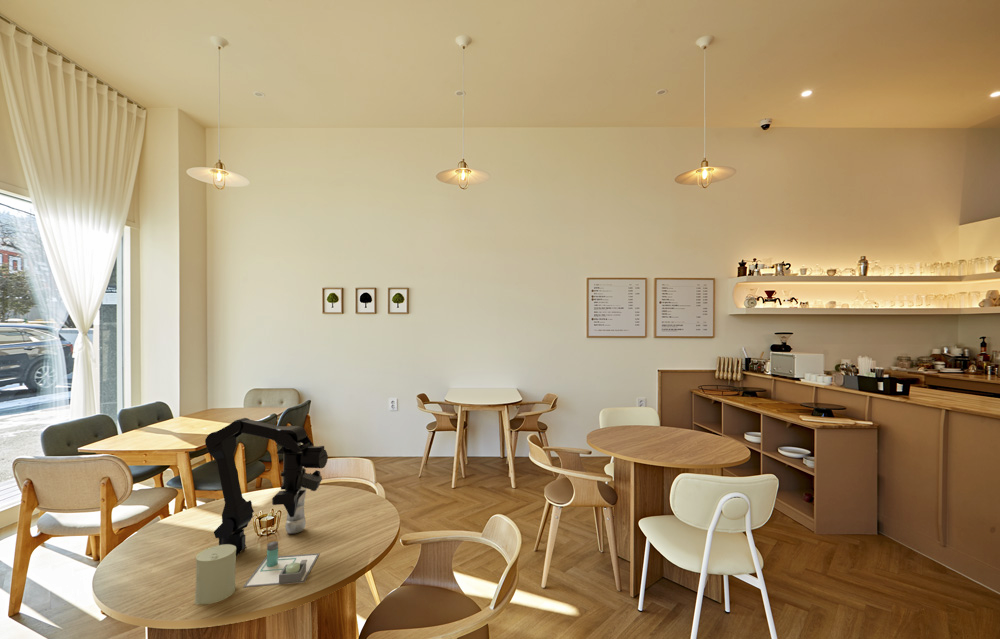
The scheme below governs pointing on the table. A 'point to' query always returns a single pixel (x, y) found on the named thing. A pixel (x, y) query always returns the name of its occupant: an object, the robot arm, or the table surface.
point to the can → (215, 574)
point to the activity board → (282, 571)
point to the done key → (293, 568)
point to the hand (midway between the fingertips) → (292, 516)
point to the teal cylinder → (272, 554)
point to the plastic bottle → (297, 517)
